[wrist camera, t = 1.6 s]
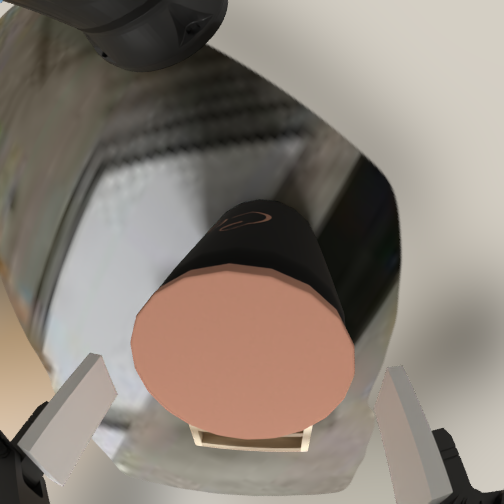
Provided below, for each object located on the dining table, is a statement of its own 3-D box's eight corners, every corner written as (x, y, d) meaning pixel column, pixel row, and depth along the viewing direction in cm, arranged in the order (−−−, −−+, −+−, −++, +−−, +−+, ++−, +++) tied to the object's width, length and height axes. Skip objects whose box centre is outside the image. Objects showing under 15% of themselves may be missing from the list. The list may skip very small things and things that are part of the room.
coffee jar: (271, 175, 27) (254, 210, 10) (337, 259, 29) (392, 387, 12) (190, 241, 30) (93, 344, 13) (255, 314, 32) (230, 455, 15)
